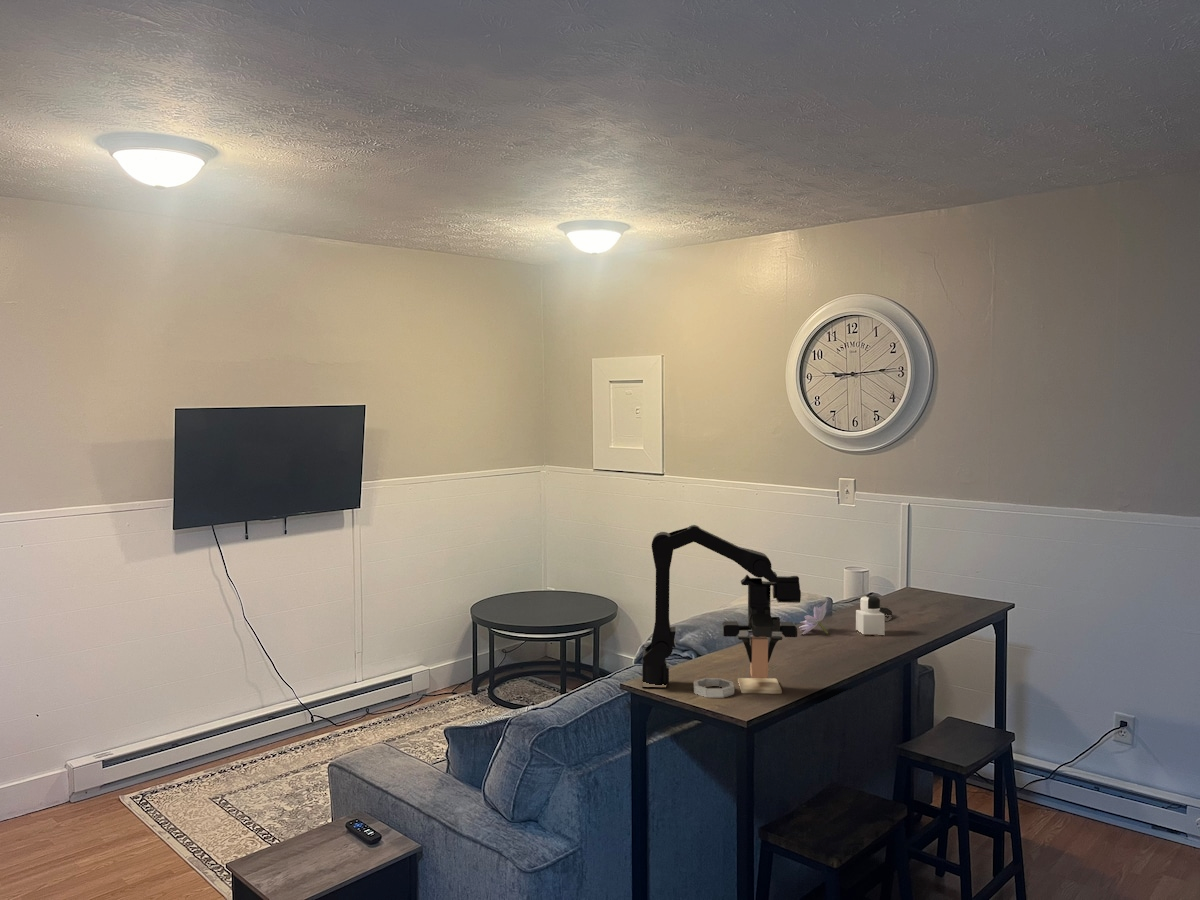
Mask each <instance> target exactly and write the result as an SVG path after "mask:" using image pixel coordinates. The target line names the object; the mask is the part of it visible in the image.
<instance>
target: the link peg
mask: <svg viewBox="0 0 1200 900" xmlns="http://www.w3.org/2000/svg"><path fill="white" fill-rule="evenodd" d="M749 638H750V647H751V656H752V662H751V663H750V662H749V663H750V664H749V665H750V669H749V670H750V676H751V678H769V663H768V637H754V636H753V634H751V635H749Z"/></svg>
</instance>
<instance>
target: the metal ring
mask: <svg viewBox="0 0 1200 900" xmlns="http://www.w3.org/2000/svg"><path fill="white" fill-rule="evenodd" d="M704 686H719V687H704ZM720 687H722V688H720ZM693 693H695V695H697V694H698V695H697V696H700V697H703V696H704V698H711V699H712V698H713V699H714V698H716V699H719V698H720V699H723V698H728V697H729V696H733V695H735V685H734V682H733V681H731V680H728V679H725V678H720V677H718V678H717V677H703V678H701V679H696V680H694V681H693Z"/></svg>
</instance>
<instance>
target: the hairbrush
mask: <svg viewBox="0 0 1200 900" xmlns="http://www.w3.org/2000/svg"><path fill="white" fill-rule="evenodd" d="M879 611H880V612H881V613H883V614H885V615H886V614H887V615H892V616H893V611H892V610H891V609H890V608H889V606H887V605H886V607H883V606H882V605H881V604H880V610H879ZM885 617H887V616H885Z"/></svg>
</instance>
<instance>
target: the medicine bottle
mask: <svg viewBox="0 0 1200 900" xmlns="http://www.w3.org/2000/svg"><path fill="white" fill-rule="evenodd" d="M859 604H860V609H856V610H855V631H856V630H858V631H859V632H861V633H862V634H878V635H884V636H885V634H886V633H885V630H886V629H885V626H886V624H885V623H886V622H885V615H884V614H883V613H881V612H880V611H879V610H880V607H881V600H880V598H879V597H877V596H872V595H865V596H864V595H863V596H862V597H860V602H859Z"/></svg>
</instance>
